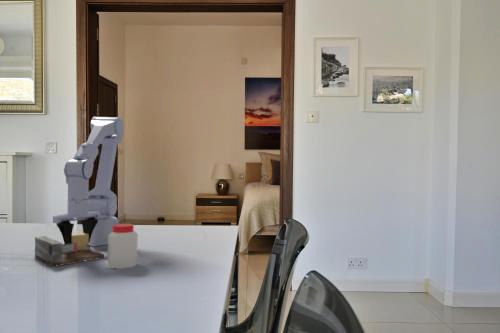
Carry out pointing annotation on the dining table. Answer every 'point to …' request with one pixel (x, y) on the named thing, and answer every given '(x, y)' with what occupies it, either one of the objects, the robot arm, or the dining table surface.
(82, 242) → the carriage
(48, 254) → the rail bed
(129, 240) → the pill bottle
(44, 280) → the dining table surface
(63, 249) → the gauge plunger
